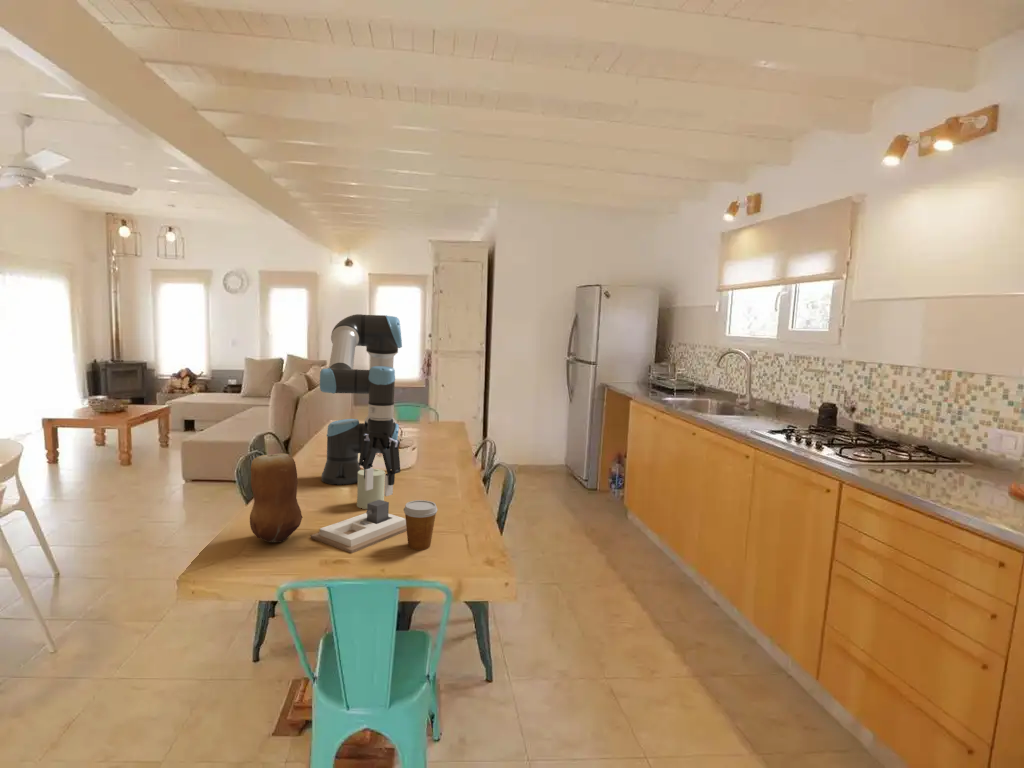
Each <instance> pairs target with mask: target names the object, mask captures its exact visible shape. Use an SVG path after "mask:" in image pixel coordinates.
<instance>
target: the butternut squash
mask: <svg viewBox="0 0 1024 768" xmlns="http://www.w3.org/2000/svg"><path fill="white" fill-rule="evenodd" d="M297 470H298V469H297V464H296V461H295V459H294V458H293V457H292V455H290V454H288V453H284V452H283V453H282V452H281V453H279V452H278V453H272V454H262V455H259V456H256V457H255V458H253V460H252V461H251V466H250V485H251V491H252V494H253V499H254V500H253V506H252V508H251V511H250V514H249V527H250V530H251V532H252V533H253V535H254V536H255V537H256V538H257V539H260V540H263V541H265V542H267V543H283V542H284V541H286V540H287V539H288V538H289V537H290V536H291V535H292V534H293V533H294V532H295V531H296V530H297V529H298V528H299V527H300V525H301V523H302V519H303V516H302V511H301V510H302V509H301V507H300V505H299V502H298V499H297V493H298V471H297Z"/></svg>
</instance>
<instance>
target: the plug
mask: <svg viewBox="0 0 1024 768" xmlns="http://www.w3.org/2000/svg"><path fill="white" fill-rule="evenodd" d="M389 506H390V502H389V501H385V500H384V501H382V500H376V501H374V502H371V503H368V504H367V509H366V512H365V513H366V514H367V521H368V522H372V523H375V524H378V523H381V522H384V521H386V520H388V513H389Z"/></svg>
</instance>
